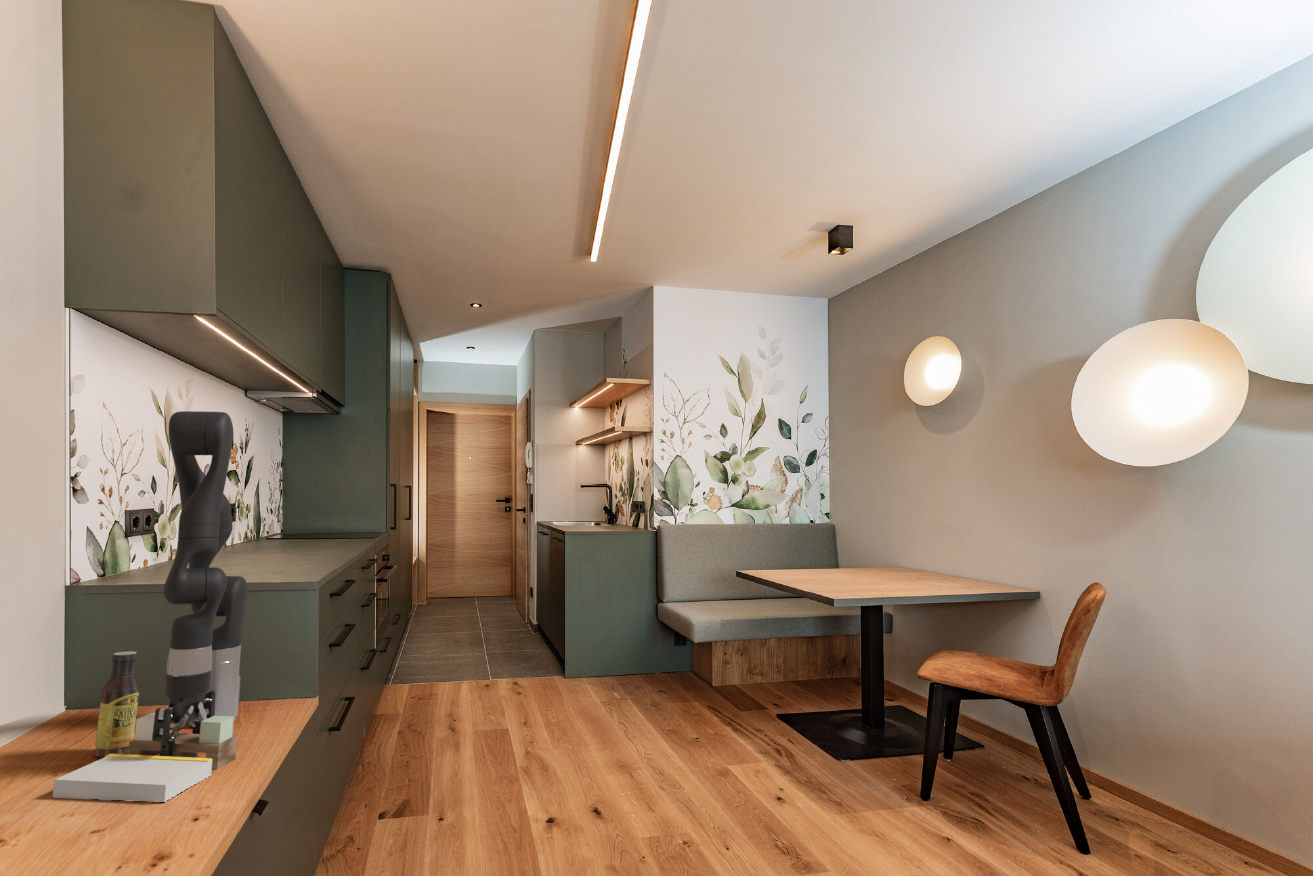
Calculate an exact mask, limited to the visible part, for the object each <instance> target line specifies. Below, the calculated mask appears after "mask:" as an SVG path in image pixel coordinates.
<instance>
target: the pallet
mask: <svg viewBox="0 0 1313 876" xmlns="http://www.w3.org/2000/svg"><path fill="white" fill-rule="evenodd" d="M171 733H172V732H170V734H169V735H171ZM199 740H200V734H192V733H182V732H178V734H177V736H176V738H175V740H174V741H175V753H174V757H192V758H195V757H197V756H198V757H199V753H200V754H201V753H203V754H205V758H212V770H216V769H217V770H219V769H221V768H222V767H224V766H226V765H228V764H230V763H231V762H232V761H235V760H236V759H237V744H238V743H237V742H238V735H232V737H231V738H230V739H228V740H226V741H224V742H222V743H220V744H209V743H199ZM160 751H161V742H160V741H143V740H135V738H134V740H131V741H129V750H128V753H127V754H128V755H149V756H156V755H159V754H160ZM198 757H197V758H198Z"/></svg>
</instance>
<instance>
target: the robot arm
mask: <svg viewBox="0 0 1313 876" xmlns="http://www.w3.org/2000/svg"><path fill="white" fill-rule="evenodd" d="M233 427H234V426H233V421H232V418H231V416H230V415H229V414H228V413H227V412H224V411H200V410H199V411H195V410H189V411H187V410H186V411H185V410H184V411H183V410H182V411H175V412H173V414H172V415H171V416H170V418H169V421H168V438H169V440H168V441H169V445H170V446H169V447H170V450H171V454H172V459H173V463H174V467H175V472H176V477H177V481H178V487H179V488H178V489H179V499H180V509H181V512H180V515H179V519H178V530H177V531H178V534H177V535H178V536H177V546H176V551H175V555H174V560H173V562H172V564H171V568H170V570H169V572H168V575H167V577H166V579H165V583H164V586H163V596H164V599H166V601H167V602H168V603H169V604H171V605H175V606H176V605H190V608H191V611H192V612H193V613H190V614H186V615H182V616H179V617H177V618H175V619H174V620H173V622H172V625H171V633H170V645H169V646H170V647H169V652H168V653H169V654H168V656H167V661H166V675H165V676H166V677H165V686H164V687H165V689H164V695H165V697H167V698H168V699H169V703H168V705H167V707H159V708H156V710H155V712H154V713H155V719H154V727H153V735H152V741H160V742H161V751H160V756H171V757H174V753H175V741H174V740H175V738H176V736H177V734H178V733H180V731H182V730H183V729H184V727H185V725H186V724H188V726H189V725H190V727H191V726H192V727H191V728H192V733H191V734H200V726H201V722H202V721H204V720H206V719H208V718H210V717H213V716H234V720H233V722H235V721H236V719H237V717H238V716H239V704H240V703H239V701H240V688H241V675H240V665H241V664H240V663H241V652H242V651H241V650H242V649H241V648H242V637H243V630H244V629H243V628H244V619H245V611H246V604H247V598H248V597H247V595H248V583H247V580H246V579H245V577H243V576H240V575H239V576H238V575H233V576H232V575H227V574H226V573H225V571H224V570H223V569H222V568H220V567H210V566H211V564H212V563H213V561H214V559H215V558H216V556H217V555H218V553H220V551H221V550H222V548H223V547H224V546H225V545H226V543H227V542H228V540H229V539H230V536H231V535H232V533H233V532H232V531H233V526H234V525H233V517H232V516H233V515H232V509H231V507H232V506H231V504H230V500H229V499H228V497H227V496H226V495H225V493H224V491H225V486H226V481H227V478H228V477H227V476H228V471H229V466H230V460H231V454H232V449H233V448H232V447H233V439H234V428H233ZM196 456H211V461H210V465H209V467H208V470H207V472H206V474H205V472H204V471H203V470H202V469H201V467H200V465H199V462H198V460H197V458H196ZM216 617H225V620H224V622H223V623H222V624H221V625H219V626H217V627H216V628H214V625H215V620H216ZM172 722H173V723H172ZM160 728H162V729H163V731H162V733H161V734H159V733H160ZM169 733H171V735H169Z"/></svg>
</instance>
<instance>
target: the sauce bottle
mask: <svg viewBox="0 0 1313 876" xmlns="http://www.w3.org/2000/svg"><path fill="white" fill-rule="evenodd" d="M137 658H138V653H137V651H119V652H114V653H112V657H111V660H112V667H111V673H110V678H108V681H107V682H106V683H105V685H104V687H103V689H102V691H101V698H100V699H101V700H100V704H99V711H98V720H97V727H96V728H97V729H96V736H95V743H94V744H95V745H94V747H95V751H94V755H95V757H96V758H99V759H102V758H104V757H105V756H106V755H109V754H128V750H129V741H131V740H134V739H135V733H136V721H137V716H138V715H137V714H138V706H139V705H138V704H139V697H140V692H139V689H138V685H137V681H136V676H135V666H136V660H137Z"/></svg>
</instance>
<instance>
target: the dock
mask: <svg viewBox="0 0 1313 876" xmlns="http://www.w3.org/2000/svg"><path fill="white" fill-rule="evenodd" d="M212 770H213V769H212V758H206V757H197V758H192V757H171V756H149V755H128V753H127V754H109V755H106V756H105V757H104V758H99V759H98V760H96V761H93V762H91V763H89V764H87V765H84V766H82V767H80V768H78V769H76V770H73V771H71V772H68V773H66V774H63V775H62V776H59V777H57V778H55V779H54V781H53V791H52V798H55V799H73V800H74V799H75V800H91V799H99V800H98V801H111V800H133V801H134V800H135V801H136V800H137V801H158V802H159V801H160V802H165V801H167V800H168V799H171V798H172V797H174V796H176V795H177V794H179V793H180V792H182V791H184V790H186V789H187V788H189V787H190V786H193V785H194V784H197V783H198V782H200V781H202V780H203V781H205V780H206V779H205V778H207V779H209V778H210V777H211V776H212V772H213V771H212ZM209 776H210V777H209ZM208 777H209V778H208ZM204 779H205V780H204ZM203 781H202V782H203ZM200 783H201V782H200ZM198 784H199V783H198ZM198 784H197V785H198ZM193 787H194V786H193ZM186 791H187V790H186ZM179 795H180V794H179ZM176 797H177V796H176ZM174 798H175V797H174ZM172 799H173V798H172ZM172 799H171V800H172ZM167 802H168V801H167Z"/></svg>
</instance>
